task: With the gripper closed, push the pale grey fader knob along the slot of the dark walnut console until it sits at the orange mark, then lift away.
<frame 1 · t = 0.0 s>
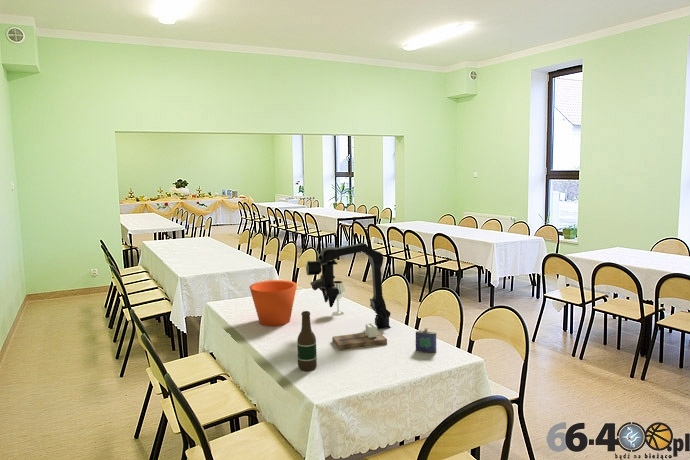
hand: (328, 304, 251), 15 cm above the table, tool pointing down, fingers open, 9 cm apart
fader knob: (371, 330, 240), point 5 cm above the table, slide at -6.0 cm
flask: (425, 351, 227), on the table
flowerpot: (274, 321, 273), on the table
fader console: (359, 342, 239), on the table
beer bottle: (307, 368, 211), on the table
wineglass: (338, 313, 285), on the table
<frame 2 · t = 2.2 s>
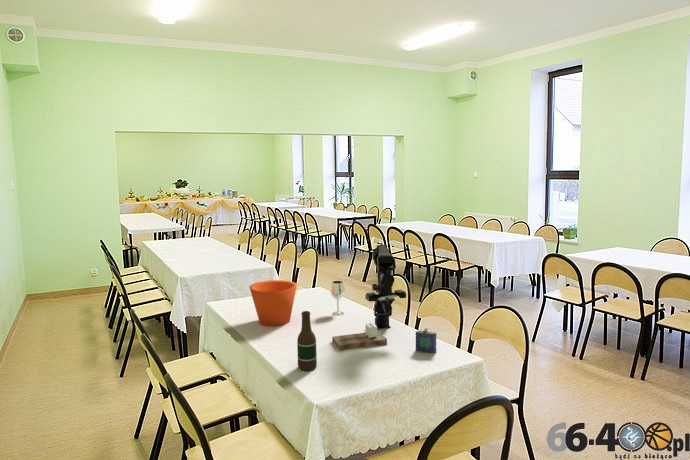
hand: (386, 313, 241), 13 cm above the table, tool pointing down, fingers closed
nothing on the table moved.
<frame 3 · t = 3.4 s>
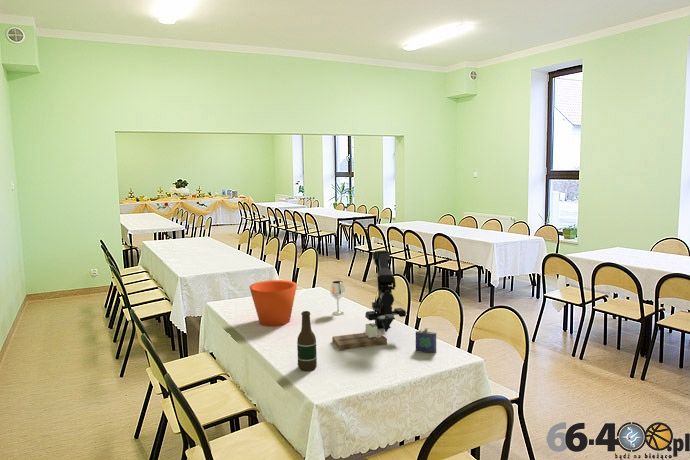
hand: (385, 331, 242), 4 cm above the table, tool pointing down, fingers closed
nothing on the table moved.
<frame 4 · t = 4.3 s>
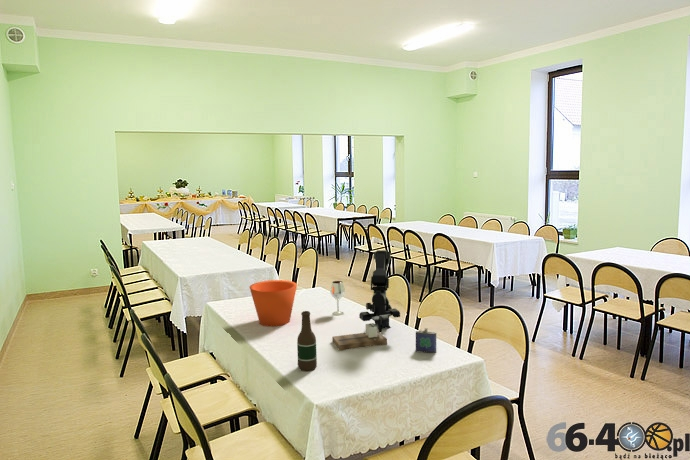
hand: (380, 332, 241), 4 cm above the table, tool pointing down, fingers closed
fader knob: (371, 330, 240), point 5 cm above the table, slide at -6.0 cm, touching gripper
everything else where it was.
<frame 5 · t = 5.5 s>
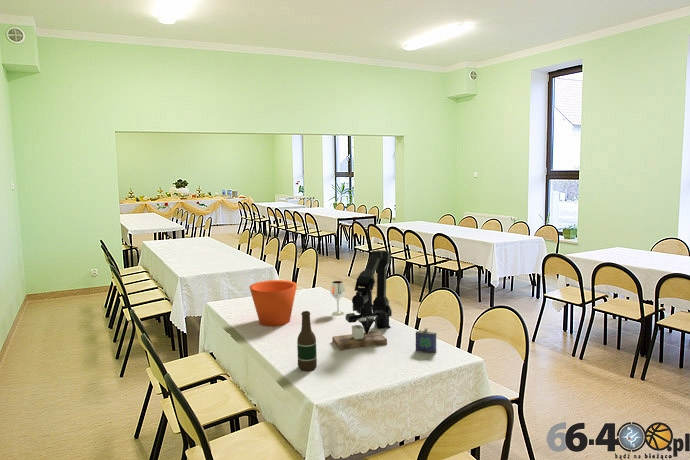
hand: (366, 333, 239), 4 cm above the table, tool pointing down, fingers closed
fader knob: (357, 331, 238), point 5 cm above the table, slide at 0.8 cm, touching gripper
everything else where it was.
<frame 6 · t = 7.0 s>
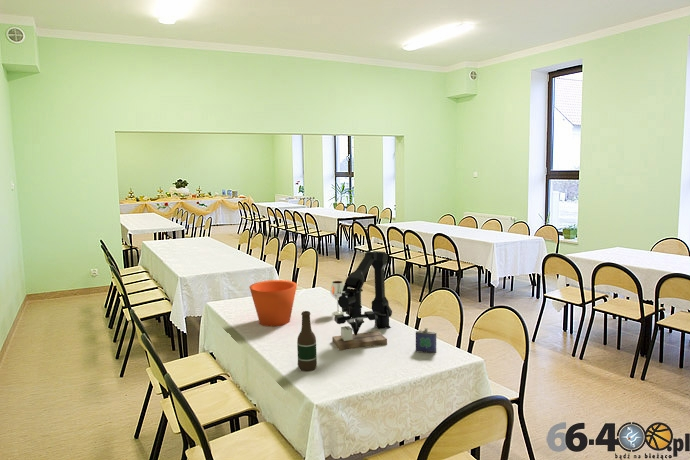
hand: (355, 335, 238), 4 cm above the table, tool pointing down, fingers closed
fader knob: (346, 333, 236), point 5 cm above the table, slide at 6.2 cm, touching gripper
everything else where it was.
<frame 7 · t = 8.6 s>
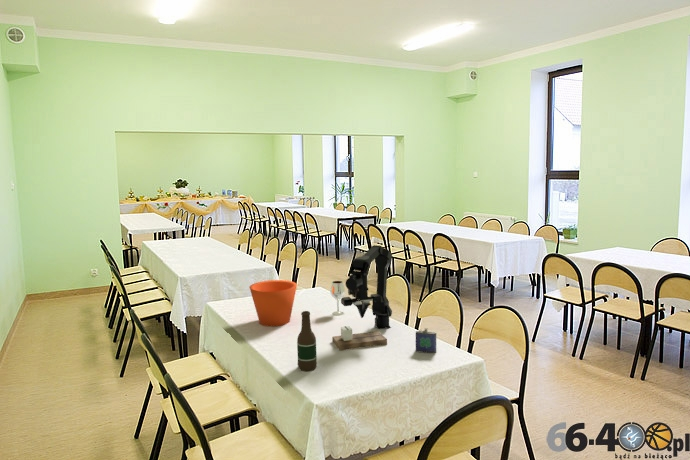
hand: (361, 317, 239), 12 cm above the table, tool pointing down, fingers closed
fader knob: (346, 333, 236), point 5 cm above the table, slide at 6.2 cm
everything else where it was.
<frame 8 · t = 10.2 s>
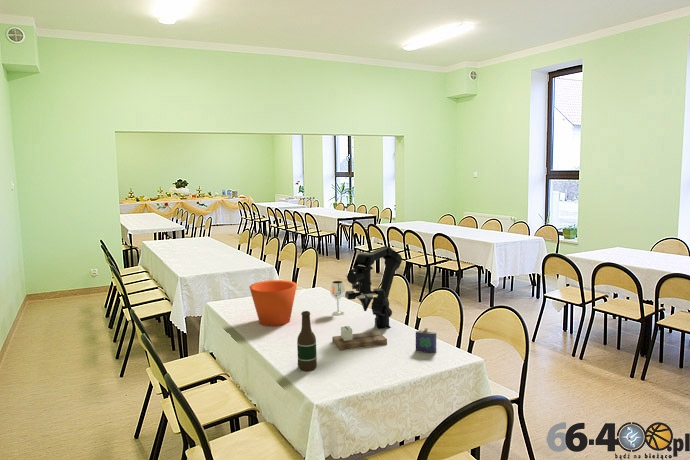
hand: (365, 310, 248), 12 cm above the table, tool pointing down, fingers closed
nothing on the table moved.
at the end: fader knob slide at 6.2 cm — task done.
